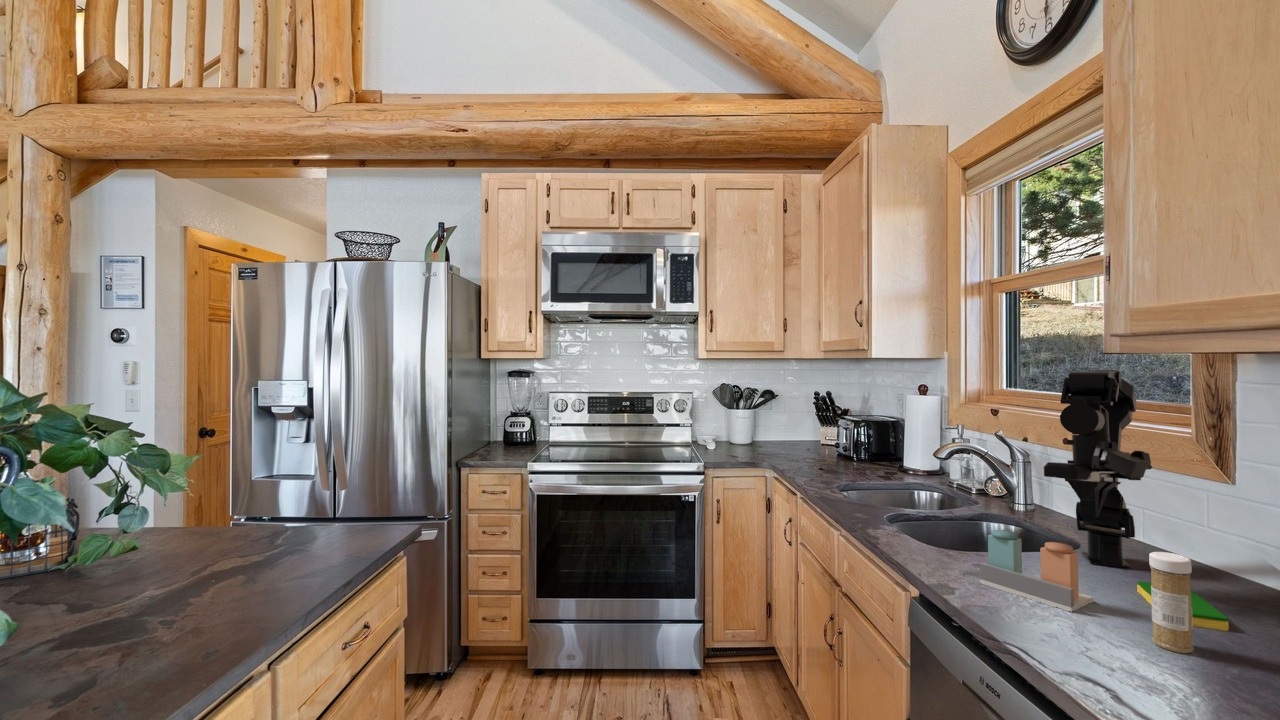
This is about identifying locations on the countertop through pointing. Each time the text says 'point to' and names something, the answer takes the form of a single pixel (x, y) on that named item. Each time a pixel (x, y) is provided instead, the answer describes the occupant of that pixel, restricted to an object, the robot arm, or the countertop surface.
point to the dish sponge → (1194, 609)
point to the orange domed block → (1060, 565)
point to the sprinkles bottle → (1171, 601)
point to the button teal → (1005, 550)
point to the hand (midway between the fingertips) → (1094, 516)
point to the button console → (1032, 587)
